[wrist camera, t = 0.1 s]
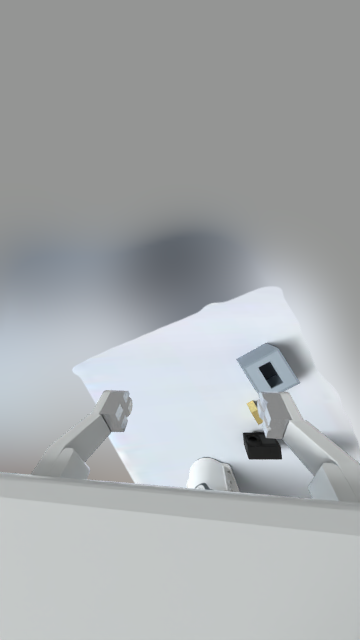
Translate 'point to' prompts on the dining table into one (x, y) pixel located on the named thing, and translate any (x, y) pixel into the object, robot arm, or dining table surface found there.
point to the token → (254, 412)
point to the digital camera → (261, 446)
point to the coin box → (270, 353)
